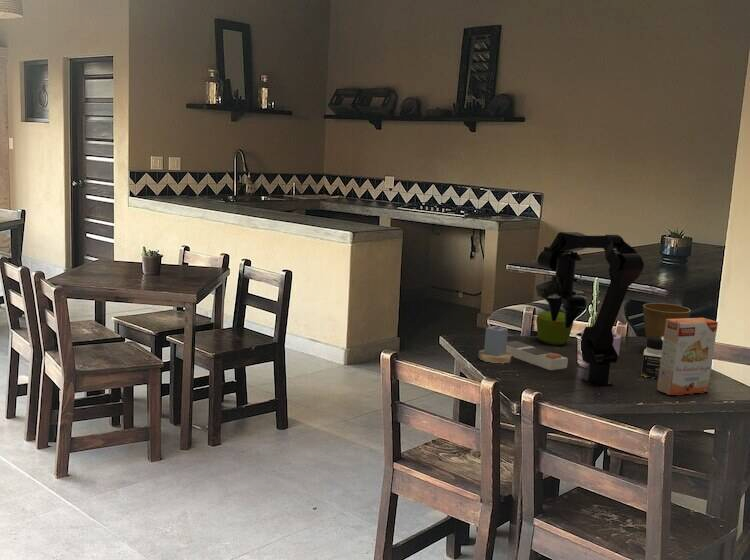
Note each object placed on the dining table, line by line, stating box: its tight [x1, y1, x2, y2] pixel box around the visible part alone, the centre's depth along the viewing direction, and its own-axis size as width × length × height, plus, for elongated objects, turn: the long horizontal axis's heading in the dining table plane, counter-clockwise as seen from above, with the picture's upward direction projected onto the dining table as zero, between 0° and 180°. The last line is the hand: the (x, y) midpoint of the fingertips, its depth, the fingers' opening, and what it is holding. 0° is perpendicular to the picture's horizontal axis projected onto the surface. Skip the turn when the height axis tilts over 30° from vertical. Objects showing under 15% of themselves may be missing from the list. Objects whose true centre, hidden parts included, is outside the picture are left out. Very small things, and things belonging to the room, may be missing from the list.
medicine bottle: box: [640, 336, 664, 379], centre depth 240 cm, size 7×7×12 cm
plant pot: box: [642, 302, 692, 339], centre depth 267 cm, size 15×15×16 cm
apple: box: [535, 310, 574, 346], centre depth 275 cm, size 12×12×11 cm
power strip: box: [506, 340, 569, 371], centre depth 251 cm, size 22×7×4 cm, turn 33°
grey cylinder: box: [483, 325, 509, 357], centre depth 248 cm, size 5×5×8 cm
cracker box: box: [656, 317, 719, 396], centre depth 223 cm, size 14×6×21 cm, turn 114°
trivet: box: [478, 349, 512, 365], centre depth 249 cm, size 10×10×2 cm
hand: (560, 324), depth 244 cm, fingers open, 9 cm apart
